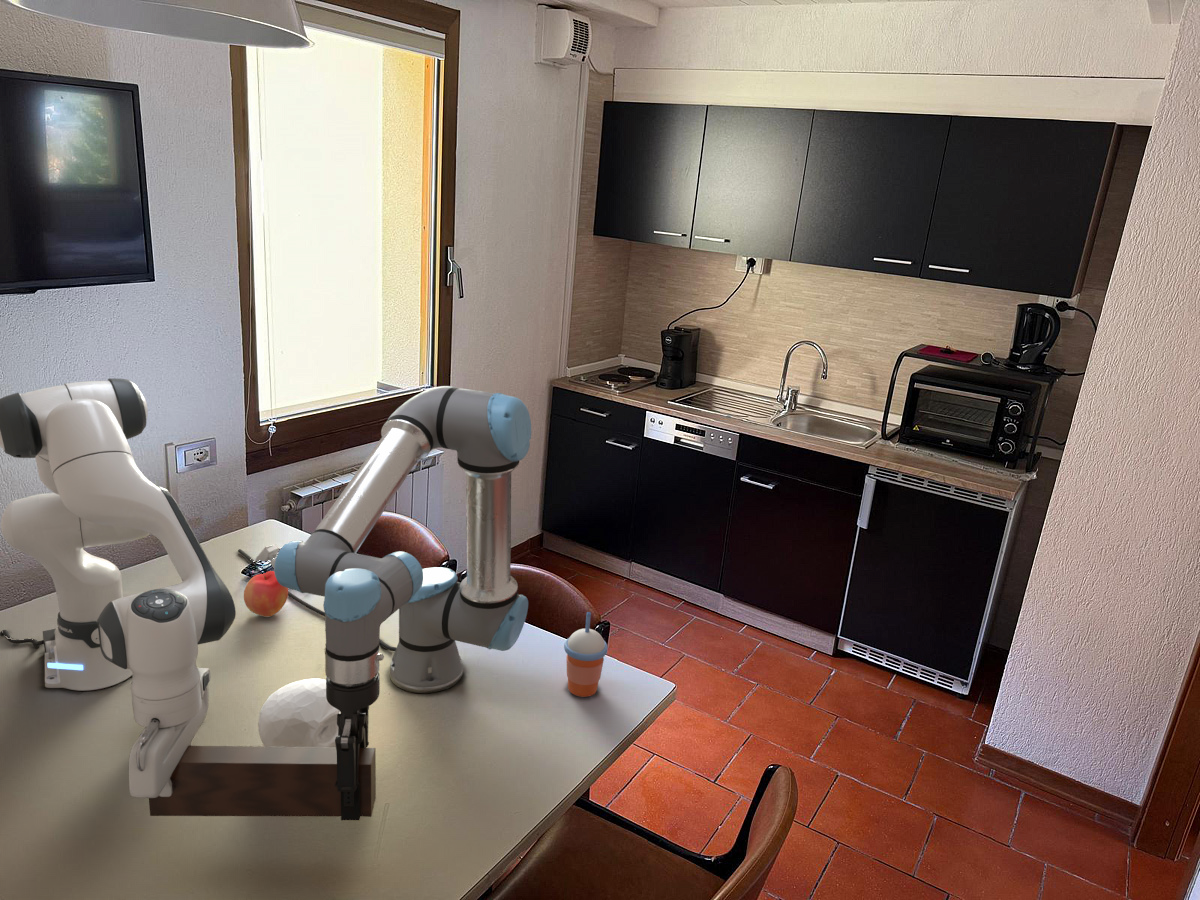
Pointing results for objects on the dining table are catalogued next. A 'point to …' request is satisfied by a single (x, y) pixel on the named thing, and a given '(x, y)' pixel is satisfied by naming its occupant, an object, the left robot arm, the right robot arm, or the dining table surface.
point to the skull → (299, 716)
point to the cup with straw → (584, 660)
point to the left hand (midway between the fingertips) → (174, 781)
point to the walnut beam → (262, 782)
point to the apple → (265, 594)
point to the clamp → (268, 554)
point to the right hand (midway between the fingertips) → (353, 807)
